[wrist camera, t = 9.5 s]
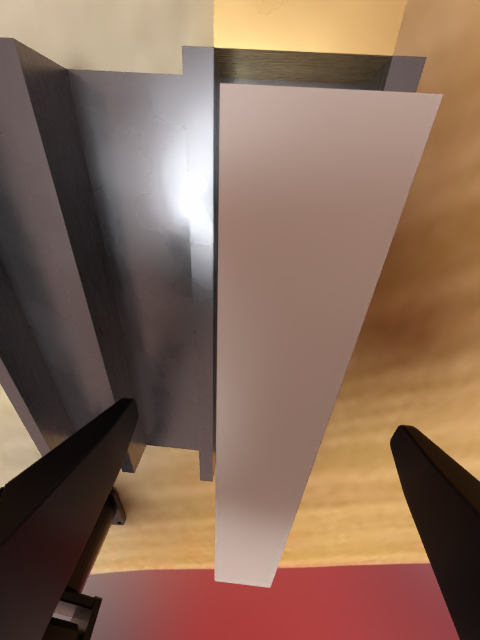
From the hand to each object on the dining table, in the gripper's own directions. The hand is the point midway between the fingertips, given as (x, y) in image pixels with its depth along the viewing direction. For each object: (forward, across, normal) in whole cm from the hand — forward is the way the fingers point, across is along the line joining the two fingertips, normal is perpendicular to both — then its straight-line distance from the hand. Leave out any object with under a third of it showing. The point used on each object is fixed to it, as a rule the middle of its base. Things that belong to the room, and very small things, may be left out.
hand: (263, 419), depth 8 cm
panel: (+5, 0, 0) cm, 5 cm away
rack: (+6, +5, -1) cm, 8 cm away
